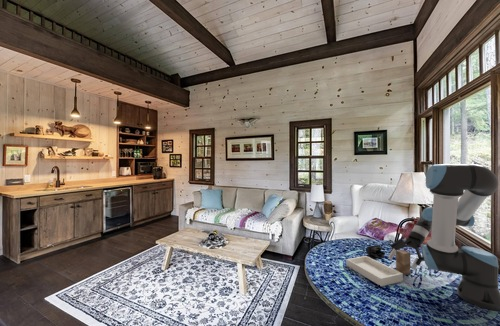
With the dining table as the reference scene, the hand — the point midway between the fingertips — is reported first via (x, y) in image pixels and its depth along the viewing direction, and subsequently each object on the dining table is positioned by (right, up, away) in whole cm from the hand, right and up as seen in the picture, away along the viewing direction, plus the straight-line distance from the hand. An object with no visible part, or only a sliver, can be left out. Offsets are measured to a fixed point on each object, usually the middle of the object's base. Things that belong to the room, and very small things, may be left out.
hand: (400, 263), depth 125 cm
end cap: (-1, -6, +23) cm, 23 cm away
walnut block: (+2, -5, 0) cm, 6 cm away
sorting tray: (-17, -5, -1) cm, 18 cm away
